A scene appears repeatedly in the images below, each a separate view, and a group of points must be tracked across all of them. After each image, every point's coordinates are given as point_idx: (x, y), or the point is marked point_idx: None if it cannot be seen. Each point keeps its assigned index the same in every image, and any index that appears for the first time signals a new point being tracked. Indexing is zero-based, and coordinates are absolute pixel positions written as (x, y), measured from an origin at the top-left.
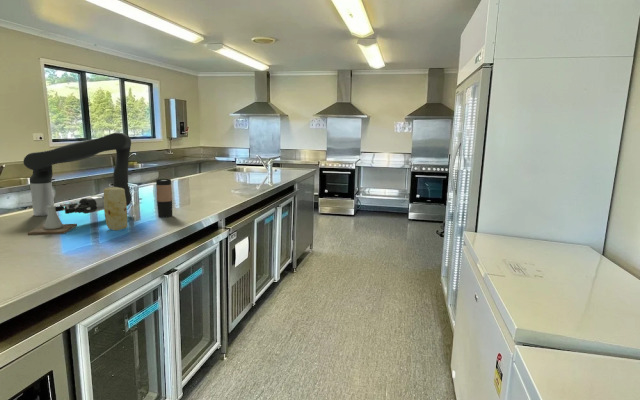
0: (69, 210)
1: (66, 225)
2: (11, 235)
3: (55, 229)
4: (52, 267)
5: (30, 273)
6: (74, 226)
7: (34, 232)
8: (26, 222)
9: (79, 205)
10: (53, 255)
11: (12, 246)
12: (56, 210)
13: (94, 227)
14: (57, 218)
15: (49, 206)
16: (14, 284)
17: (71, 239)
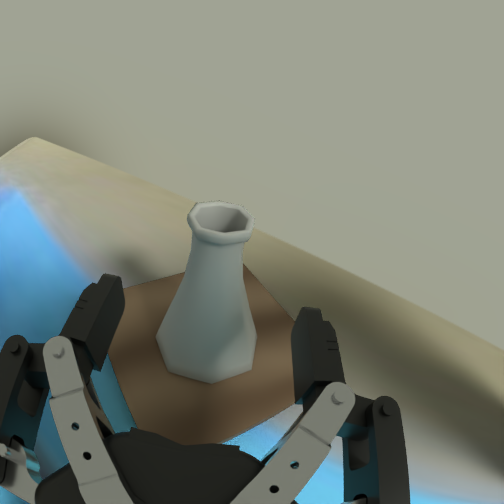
0: (85, 296)
1: (184, 405)
2: (281, 251)
3: (163, 316)
4: (17, 164)
5: (37, 153)
6: (138, 428)
7: None
8: (462, 377)
9: (65, 444)
10: (30, 182)
11: (155, 194)
12: (296, 346)
13: None
14: (176, 304)
15: (248, 221)
16: (41, 143)
17: (28, 252)
